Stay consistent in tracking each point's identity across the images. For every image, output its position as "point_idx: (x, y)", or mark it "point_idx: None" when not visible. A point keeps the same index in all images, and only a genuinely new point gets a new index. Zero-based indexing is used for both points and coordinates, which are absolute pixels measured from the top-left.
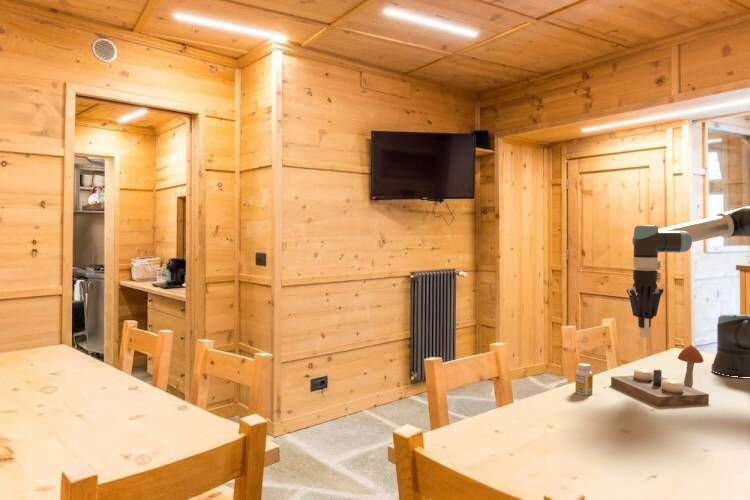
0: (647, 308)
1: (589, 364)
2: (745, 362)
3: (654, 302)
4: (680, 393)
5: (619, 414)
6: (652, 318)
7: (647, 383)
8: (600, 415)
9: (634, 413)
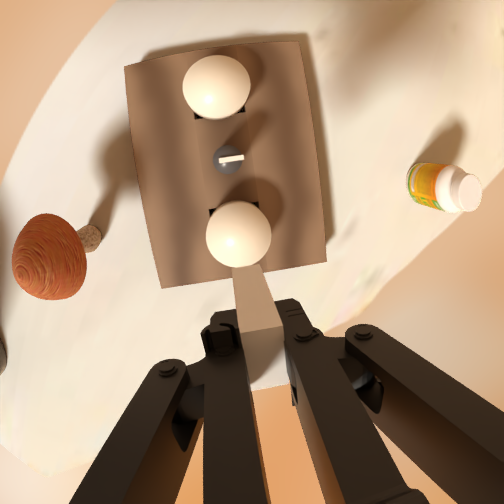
0: (255, 427)
1: (459, 192)
2: None
3: (144, 497)
4: None
5: (405, 29)
6: (211, 324)
7: (251, 177)
8: (439, 37)
9: (374, 24)
